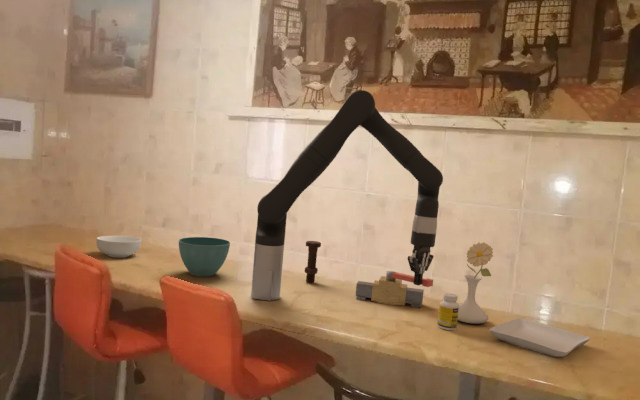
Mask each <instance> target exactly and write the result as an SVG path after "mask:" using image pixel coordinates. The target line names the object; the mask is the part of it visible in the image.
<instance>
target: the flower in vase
mask: <svg viewBox="0 0 640 400" xmlns="http://www.w3.org/2000/svg"><path fill="white" fill-rule="evenodd" d="M493 249H494V248H493V247H492V246H491V245H489V244H488V243H486V242H481V243H480V242H477V243H476V244H475V243H473V244H472V245H471V246H470V247H469V249H468V250H467V252H466V258H467V259H466V261H467V263H466V266H467V267H468V268H469V269H470V270H471V271H472V272H474V273H475V275H473V274H472V275H471V274H466V275H464V277H465V279H466V281H467V295H466V299H465V300H463V302H462V303H459V304H458V305H459V310H458V318H457V321H460V322H463V323H466V324H477V325H479V324H483V323H487V321H488V320H489V317H488V314H487V313H486V311H485V310H484V309H483V308H482V307H480V305H479V304H478V303H477V301H476V292H477V291H476V290H477V288H478V287H477V286H478V284H479V282H480V281H481V280H482V279H483V278H482V277H492V274H491V271H490V270H489V268H487V267H485V268H483V266H486V265H487V264H488V263H489V262H490V261H491V259H492V258H493V257H494V254H493V253H494V251H493ZM468 263H469V264H470V265H472V266H473V267H475V268H476V267H479V266H480V269H479V270H478V272H476V270H475V269H473V268H472V267H471V266H470V265H469V264H468ZM479 273H480V274H481V276H482V277H481V276H478V274H479Z"/></svg>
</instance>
